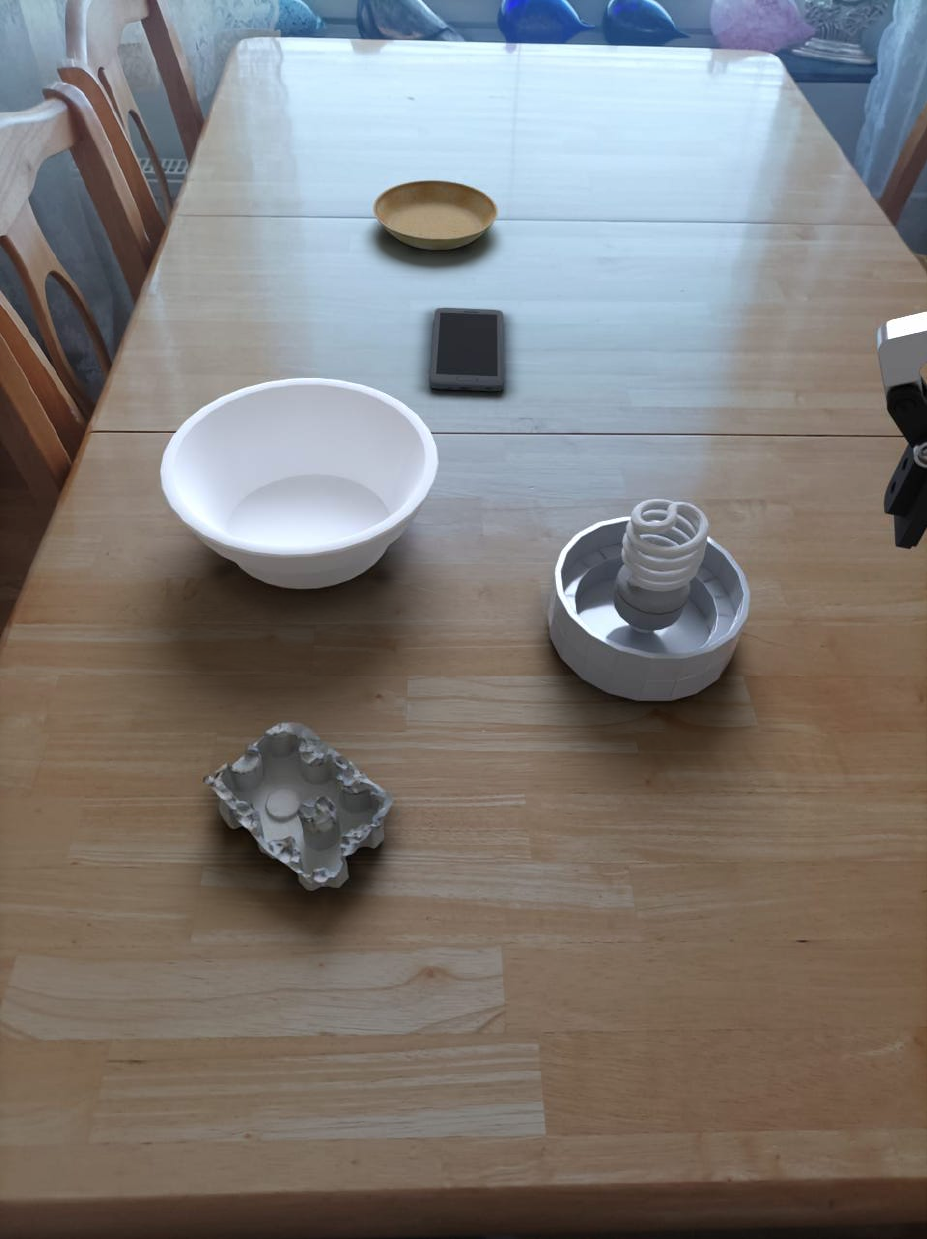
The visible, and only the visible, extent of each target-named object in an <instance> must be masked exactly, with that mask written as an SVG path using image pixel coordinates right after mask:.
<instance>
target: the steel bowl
mask: <svg viewBox="0 0 927 1239" xmlns="http://www.w3.org/2000/svg"><path fill="white" fill-rule="evenodd" d="M630 519H631V516H621V517H617V518H612V519H608V520H602V521H598V522H596V523H594V524H592V525H590V526H589V527H587V528H585V529H583V530H581V531H579V532H577V533H576V534H575V535H574V536H573V537H572V538H571V539H570V540H569V542H567V543H566V544H565V546H564V547H563V548H562V549H561V550H560V553H559V556H558V558H557V561H556V565H555V567H554V570H553V577H552V583H551V589H550V597H549V604H548V609H547V623H548V624H547V625H548V633H549V638H550V641H551V643H552V644H553V645H554V646H553V647H554V649H555V650H556V651H557V653H558V656H559V658H560V659H561V660H562V661H563V662H564V663H565V664H566V665H567V667H569V668H570V669H571V670H572V671H573V672H574V673H575V674H576V675H577V676H578V677H579V678H581V679H582V680H583V681H585V682H587V683H589V684H591V685H592V686H595V687H596V688H597V689H600V690H601V691H603V692H605V693H608V694H610V695H613V696H618V697H621V698H626V699H629V700H633V701H637V702H638V701H639V702H671V701H675V700H678V699H682V698H685V697H689V696H693V695H696V694H699V693H700V692H701V691H703V690H704V689H706V688H707V687H709V686H710V685H711V684H713V683H714V682H716V681H717V680H719V679H720V677H721V675H722V674H723V673H724V671H725V669H726V668H727V667H728V665H729V663H730V662H731V660H732V658H733V655H734V653H735V650H736V647H737V646H738V642H739V640H740V637H741V635H742V632H743V630H744V627H745V625H746V622H747V620H748V617H749V610H750V603H751V597H752V596H751V592H750V588H749V585H748V582H747V578H746V575H745V572H744V571H743V570H742V568H741V567H740V565H739V564H738V562H736V560H735V559H734V557H733V556H732V554H731V553H730V552H729V551H728V550H727V549H725V548H724V547H722V545H720V544H719V543H718V542H716V541H715V540H714V539H712V538H711V537H710V536H708V537H707V546H706V549H705V554H704V559H703V561H702V563H701V565H700V566H699V569H698V571H697V573H696V575H695V576H694V578H693V579H692V580H691V581H690V592H689V598H688V600H687V603H686V605H685V607H684V609H683V611H682V614H681V616H680V617H679V619H678V620H677V621H676V622H675V623H674V624H673V625H672V626H670V627H667V628H665V629H662V630H655V631H653V632H648V633H642V632H639V631H636V630H635V629H633V628H632V627H631V626H630V625H629V624H628V623H627V622H625V621H624V620H623V619H622V618H621V617H620V616H619V614H618V613H617V611H616V609H615V607H614V590H615V581H616V577H617V575H618V572H619V570H620V568H621V567H622V566H623V565H624V562H623V560H622V555H621V554H622V548H623V537H624V534H625V533H626V526H627V524H628V522H629V520H630ZM646 522H660V521H655V520H652V521H646ZM673 527H675V528H677V529H679V528H678V527H676V526H673ZM679 530H680V531H682V530H681V529H679ZM682 532H684V531H682ZM684 533H685V532H684ZM640 535H648V534H644V533H642V534H640ZM652 535H658V536H662V537H665V538H668V539H670V540H671V541H673V542H675V543H677V544H678V545H681V544H679V543H678V542H677V541H676V540H674V539H672V538H671V537H668V536H666V535H663V534H652ZM636 549H637V548H636ZM637 550H638V549H637ZM638 551H640V550H638ZM640 552H641V551H640ZM641 553H642V554H644V555H648V554H645V553H643V552H641ZM666 559H675V558H666Z"/></svg>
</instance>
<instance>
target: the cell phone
mask: <svg viewBox="0 0 927 1239" xmlns="http://www.w3.org/2000/svg"><path fill="white" fill-rule="evenodd" d="M504 323H505V321H504V313H503V311H502V310H499V309H491V308H489V309H488V308H466V307H465V308H462V307H438V308H436V309H435V310H434V315H433V329H432V343H431V344H432V345H431V356H430V357H431V358H430V371H429V385H430V387H431V388H432V389H437V390H454V391H459V390H460V391H479V392H480V391H484V392H500V391H502V390H504V388H505V382H506V381H505V380H506V379H505V378H506V377H505V376H506V375H505V374H506V373H505V326H504V325H505V324H504Z"/></svg>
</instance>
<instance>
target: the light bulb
mask: <svg viewBox="0 0 927 1239" xmlns="http://www.w3.org/2000/svg"><path fill="white" fill-rule="evenodd" d="M630 517H631V519H630V520H629V522H628V524H627V526H626V533H625V534H624V537H623V548H622V554H621V555H622V560H623V562H624V565H623V566H622V567H621V568H620V570H619V572H618V575H617V577H616V581H615V590H614V607H615V609H616V611H617V613H618V614H619V616H620V617H621V618H622V619H623V620H624V621H625V622H627V623H628V624H629V625H630V626H631V627H632V628H633V629H635V630H636V631H639V632H642V633H648V632H653V631H655V630H662V629H665V628H667V627H670V626H672V625H673V624H674V623H675V622H676V621H677V620H678V619H679V617H680V616H681V614H682V611H683V609H684V607H685V605H686V603H687V600H688V598H689V592H690V581H691V580H692V579H693V578H694V576H695V575H696V573H697V571H698V569H699V566H700V565H701V563H702V561H703V559H704V554H705V549H706V546H707V537H709V534H710V530H711V528H710V522H709V520H708V518H707V516H706V515H705V514H704V512H703V511H701V509H699V508H698V507H697V506H695V505H693V504H692V503H688V502H687V501H686V502H685V501H673V500H670V499H663V498H652V499H651V498H650V499H646V500H644V501H642V502H640V503H639V504H637V505H635V507H634V508H633V509H632V511H631V514H630ZM652 520H655V521H660V522H646V521H652ZM673 526H676V527H678V528H679V529H681V530H682V531H684V532H685V533H684V532H682V531H680V530H679V529H677V528H675V527H673ZM642 533H644V534H648V535H640V534H642ZM652 534H663V535H666V536H668V537H671V538H672V539H674V540H676V541H677V542H678V543H679V544H681V545H678V544H677V543H675V542H673V541H671V540H670V539H668V538H665V537H662V536H658V535H652ZM636 548H637V549H638V550H640V551H641V552H643V553H645V554H648V555H644V554H642V553H641V552H640V551H638V550H637V549H636ZM666 558H675V559H666Z"/></svg>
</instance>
